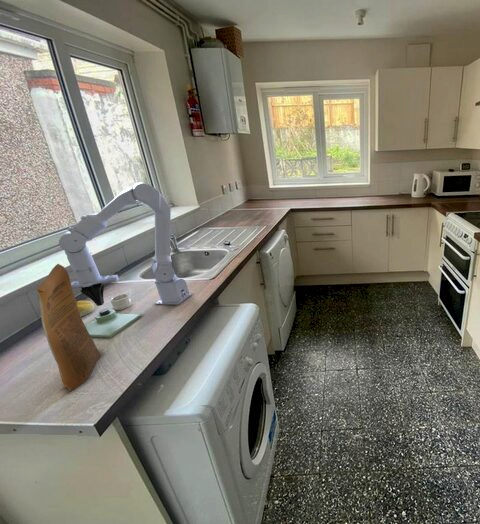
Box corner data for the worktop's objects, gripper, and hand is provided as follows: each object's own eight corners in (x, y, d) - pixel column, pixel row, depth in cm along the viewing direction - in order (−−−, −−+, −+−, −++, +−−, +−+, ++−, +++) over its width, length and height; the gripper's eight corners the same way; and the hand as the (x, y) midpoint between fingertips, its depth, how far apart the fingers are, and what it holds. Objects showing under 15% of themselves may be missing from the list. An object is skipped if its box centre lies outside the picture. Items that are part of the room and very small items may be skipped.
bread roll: (65, 322, 100) (60, 312, 98) (67, 312, 106) (62, 303, 105) (95, 313, 105) (91, 303, 103) (95, 304, 111) (91, 295, 110)
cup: (135, 302, 111) (132, 293, 109) (123, 310, 105) (119, 301, 104) (123, 302, 111) (119, 293, 110) (110, 310, 106) (105, 301, 105)
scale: (141, 316, 101) (139, 310, 100) (110, 337, 90) (107, 331, 89) (107, 314, 103) (104, 309, 102) (72, 336, 92) (69, 329, 91)
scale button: (111, 312, 100) (110, 308, 100) (105, 316, 98) (103, 312, 97) (105, 312, 101) (103, 308, 100) (98, 316, 98) (96, 312, 98)
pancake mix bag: (112, 344, 87) (73, 259, 76) (90, 389, 71) (37, 288, 60) (84, 351, 84) (40, 264, 73) (55, 399, 68) (-7, 296, 57)
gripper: (49, 277, 87) (68, 315, 92) (107, 267, 92) (122, 304, 97) (61, 269, 93) (78, 305, 98) (114, 260, 98) (128, 295, 103)
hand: (100, 304), depth 98 cm, fingers closed
